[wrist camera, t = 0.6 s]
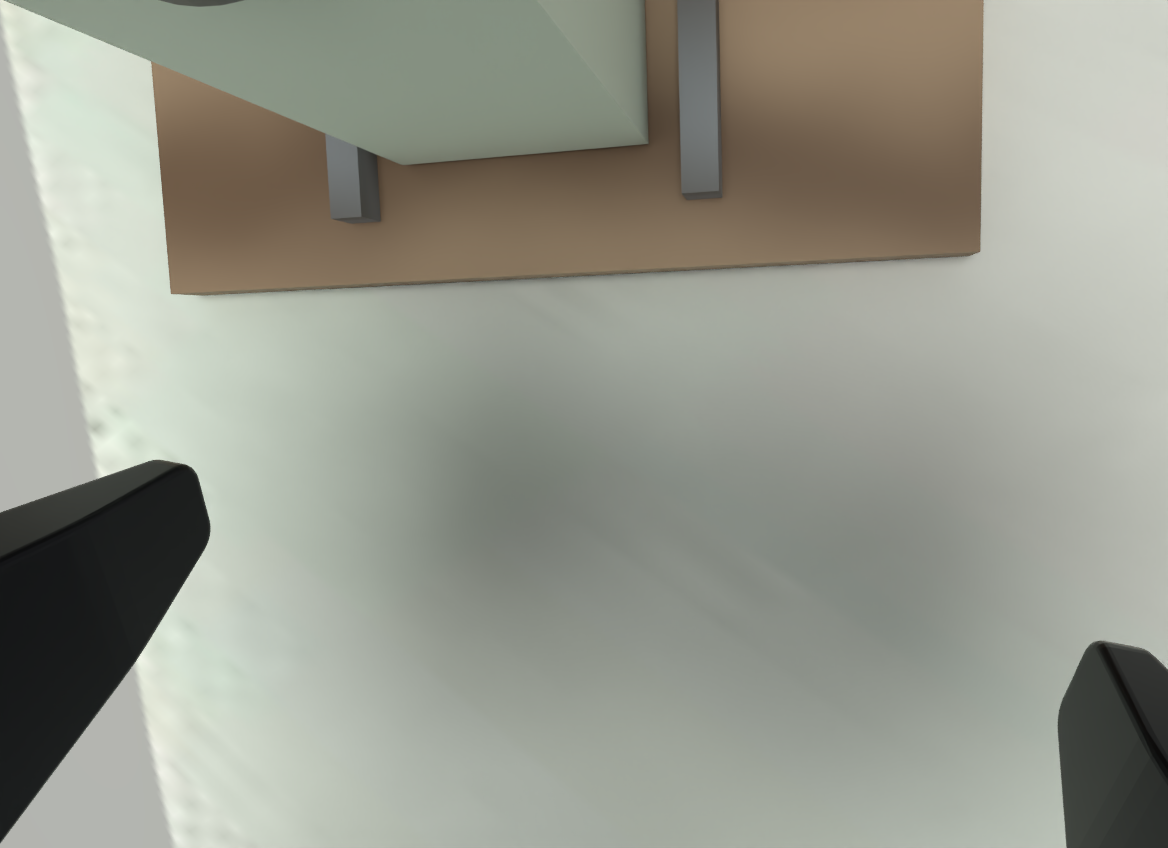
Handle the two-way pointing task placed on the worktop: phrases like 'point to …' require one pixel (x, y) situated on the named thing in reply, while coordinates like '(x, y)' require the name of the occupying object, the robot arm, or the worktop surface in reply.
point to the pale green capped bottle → (404, 67)
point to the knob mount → (615, 165)
